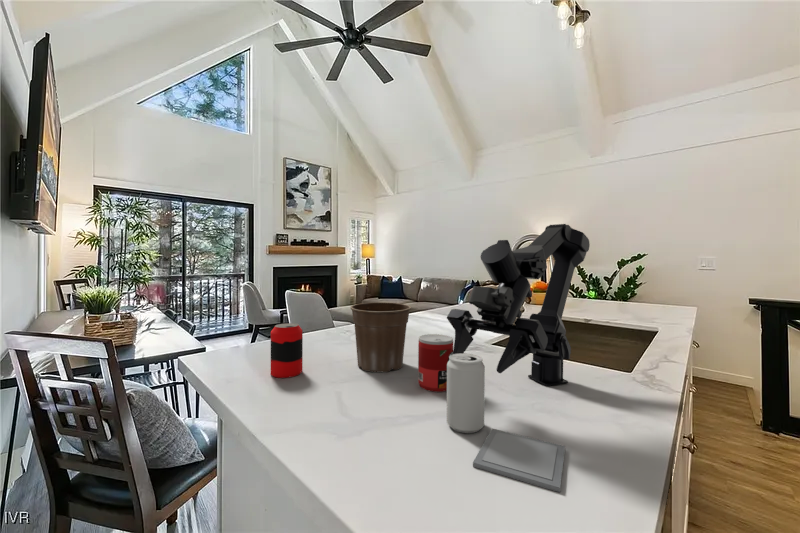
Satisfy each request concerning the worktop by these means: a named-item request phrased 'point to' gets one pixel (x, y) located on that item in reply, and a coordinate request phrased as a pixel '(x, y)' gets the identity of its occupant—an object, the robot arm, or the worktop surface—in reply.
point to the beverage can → (465, 392)
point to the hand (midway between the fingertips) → (475, 365)
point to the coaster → (522, 459)
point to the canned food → (434, 361)
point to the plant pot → (380, 335)
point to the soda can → (286, 350)
